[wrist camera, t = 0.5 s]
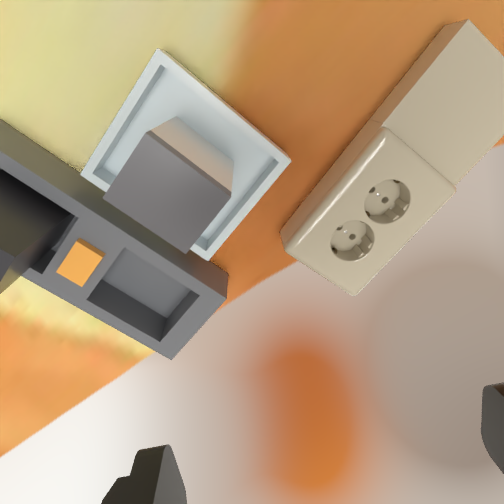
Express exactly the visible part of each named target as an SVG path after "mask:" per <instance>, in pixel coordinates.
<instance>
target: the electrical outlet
mask: <svg viewBox="0 0 504 504" xmlns="http://www.w3.org/2000/svg"><path fill="white" fill-rule="evenodd" d="M503 135H504V56H503V55H502V54H501V53H500V52H499V51H498V50H497V49H496V48H495V47H494V46H493V45H492V44H491V42H490V41H489V40H488V39H487V38H486V37H485V36H484V35H483V34H482V33H481V32H480V31H479V30H478V29H477V27H476V26H475V25H474V24H473V23H472V22H471V21H470V20H469V19H467V20H463V21H459V22H456V23H452V24H448V25H445V26H444V27H443V28H442V29H441V30H440V32H439V33H438V34H437V35H436V37H435V38H434V39H433V40H432V42H431V43H430V44H429V45H428V47H427V48H426V49H425V50H424V52H423V53H422V54H421V55H420V57H419V58H418V59H417V60H416V62H415V63H414V64H413V65H412V67H411V68H410V69H409V70H408V72H407V73H406V74H405V75H404V77H403V78H402V79H401V80H400V82H399V83H398V84H397V85H396V87H395V88H394V89H393V90H392V92H391V93H390V94H389V95H388V97H387V98H386V99H385V100H384V102H383V103H382V104H381V105H380V107H379V108H378V109H377V110H376V111H375V113H374V114H373V115H372V116H371V118H370V120H368V121H367V123H366V124H365V125H364V126H363V128H362V129H361V130H360V131H359V133H358V134H357V135H356V136H355V138H354V139H353V140H352V141H351V143H350V144H349V145H348V146H347V148H346V149H345V150H344V151H343V153H342V154H341V155H340V156H339V158H338V159H337V160H336V161H335V163H334V164H333V165H332V166H331V168H330V169H329V170H328V171H327V173H326V174H325V175H324V176H323V178H322V179H321V180H320V181H319V183H318V184H317V185H316V186H315V188H314V189H313V190H312V191H311V193H310V194H309V195H308V196H307V197H306V199H305V200H304V201H303V202H302V204H301V205H300V206H299V207H298V209H297V210H296V211H295V212H294V214H293V215H292V216H291V217H290V219H289V220H288V221H287V222H286V224H285V225H284V226H283V227H282V229H281V230H280V236H281V240H282V244H283V247H284V250H285V252H286V253H288V254H289V255H291V256H292V257H294V258H295V259H297V260H298V261H300V262H301V263H303V264H304V265H306V266H307V267H309V268H310V269H312V270H314V271H315V272H316V273H318V274H319V275H321V276H323V277H324V278H325V279H327V280H328V281H330V282H332V283H333V284H335V285H336V286H338V287H339V288H341V289H342V290H344V291H345V292H347V293H348V294H350V295H352V296H356V295H357V294H358V293H359V292H360V291H361V290H362V289H363V288H364V287H365V286H366V285H367V284H368V283H369V282H370V281H371V280H372V279H373V278H374V277H375V276H376V275H377V274H378V273H379V271H380V270H382V268H383V267H384V266H385V265H386V264H387V263H388V262H389V261H390V260H391V259H392V258H393V257H394V256H395V255H396V254H397V253H398V252H399V251H400V250H401V249H402V248H403V247H404V246H405V245H406V244H407V242H409V240H410V239H411V238H412V237H413V236H414V235H415V234H416V233H417V232H418V231H419V230H420V229H421V228H422V227H423V226H424V225H425V224H426V223H427V222H428V221H429V220H430V219H431V218H432V217H433V216H434V214H436V212H437V211H438V210H439V209H440V208H441V207H442V206H443V205H444V204H445V203H446V202H447V201H448V200H449V199H450V198H451V197H452V196H453V195H454V194H455V192H456V187H455V185H456V184H457V183H458V182H459V181H460V180H461V179H462V178H463V177H464V176H465V175H466V174H467V173H468V172H469V171H470V170H471V169H472V168H473V167H474V166H475V165H476V163H477V162H478V161H479V160H480V159H481V158H482V157H483V156H484V155H485V154H486V153H487V152H488V151H489V150H490V149H491V148H492V147H493V146H494V145H495V144H496V143H497V142H498V141H499V139H500V138H501V137H502V136H503Z"/></svg>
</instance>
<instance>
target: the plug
mask: <svg viewBox="0 0 504 504" xmlns="http://www.w3.org/2000/svg"><path fill="white" fill-rule="evenodd" d="M233 166H234V161H232V160H231V159H230V158H228V157H227V156H226V155H225V154H223V153H222V152H221V151H220V150H218V149H217V148H216V147H215V146H213V145H212V144H211V143H210V142H208V141H207V140H206V139H205V138H203V137H202V136H201V135H199V134H198V133H197V132H196V131H194V130H193V129H192V128H191V127H189V126H188V125H187V124H186V123H184V122H183V121H182V120H181V119H179V118H178V117H177V116H175V117H173V118H171V119H170V120H168V121H166V122H164V123H162V124H160V125H159V126H157V127H155V128H153V129H151V130H149V131H147V132H146V133H145V134H144V135H143V137H142V139H141V140H140V142H139V143H138V145H137V146H136V148H135V149H134V151H133V152H132V154H131V155H130V157H129V158H128V160H127V161H126V163H125V164H124V166H123V167H122V169H121V171H120V172H119V174H118V175H117V177H116V178H115V180H114V181H113V183H112V184H111V186H110V187H109V189H108V190H107V192H106V193H105V195H104V196H103V199H104V200H106V201H107V202H109V203H110V204H112V205H113V206H115V207H116V208H118V209H119V210H121V211H122V212H124V213H125V214H127V215H128V216H130V217H131V218H133V219H134V220H136V221H137V222H139V223H140V224H142V225H143V226H144V227H146V228H147V229H149V230H150V231H152V232H153V233H155V234H156V235H158V236H159V237H161V238H162V239H164V240H165V241H167V242H168V243H170V244H171V245H173V246H174V247H176V248H177V249H179V250H180V251H182V252H183V253H185V254H186V253H187V252H188V251H189V249H190V248H191V247H192V246H193V244H194V243H195V242H196V241H197V239H198V238H199V237H200V236H201V234H202V233H203V232H204V231H205V229H206V228H207V227H208V226H209V224H210V223H211V222H212V221H213V219H214V218H215V217H216V216H217V214H218V213H219V212H220V211H221V210H222V208H223V207H224V206H225V205H226V203H227V202H228V201H229V200H230V198H231V192H232V179H233Z"/></svg>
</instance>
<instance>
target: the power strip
mask: <svg viewBox="0 0 504 504" xmlns="http://www.w3.org/2000/svg"><path fill="white" fill-rule="evenodd" d="M80 174H81V173H79V172H78V171H76V170H75V169H73V168H72V167H70V166H69V165H67V164H66V163H64V162H63V161H62V160H60V159H59V158H57V157H56V156H54V155H53V154H51V153H50V152H48V151H47V150H45V149H44V148H42V147H41V146H39V145H38V144H36V143H35V142H34V141H32V140H31V139H29V138H28V137H26V136H25V135H23V134H22V133H20V132H19V131H17V130H16V129H14V128H13V127H11V126H10V125H8V124H7V123H6V122H4V121H3V120H1V119H0V294H1V293H2V292H3V291H4V290H5V289H6V288H8V287H9V286H10V285H11V284H12V283H13V282H14V281H15V280H17V279H18V278H19V277H20V276H23V277H24V278H26V279H28V280H30V281H31V282H33V283H35V284H37V285H39V286H40V287H42V288H44V289H46V290H47V291H49V292H51V293H53V294H55V295H56V296H58V297H60V298H62V299H64V300H65V301H67V302H69V303H71V304H72V305H74V306H76V307H78V308H80V309H81V310H83V311H85V312H87V313H88V314H90V315H92V316H94V317H96V318H97V319H99V320H101V321H103V322H104V323H106V324H108V325H110V326H112V327H113V328H115V329H117V330H119V331H120V332H122V333H124V334H126V335H128V336H129V337H131V338H133V339H135V340H136V341H138V342H140V343H142V344H144V345H145V346H147V347H149V348H151V349H153V350H154V351H156V352H158V353H160V354H162V355H163V356H165V357H167V358H169V359H170V360H172V359H173V358H174V357H175V356H176V355H177V353H178V352H179V351H180V350H181V349H182V348H183V347H184V346H185V345H186V343H187V342H188V341H189V340H190V339H191V338H192V337H193V336H194V334H195V333H196V332H197V331H198V330H199V329H200V328H201V327H202V326H203V325H204V323H205V322H206V321H207V320H208V319H209V318H210V317H211V316H212V315H213V313H214V312H215V311H216V310H217V309H218V308H219V307H220V306H221V304H222V303H223V302H224V301H225V300H226V299H227V285H228V273H227V272H225V271H224V270H222V269H221V268H219V267H218V266H216V265H215V264H213V263H212V262H210V261H207V260H205V259H204V258H202V257H201V256H199V255H198V254H196V253H195V252H193V251H192V250H190V249H189V251H188V252H187V253H186V254H185V253H183V252H182V251H180V250H179V249H177V248H176V247H174V246H173V245H171V244H170V243H168V242H167V241H165V240H164V239H162V238H161V237H159V236H158V235H156V234H155V233H153V232H152V231H150V230H149V229H147V228H146V227H144V226H143V225H142V224H140V223H139V222H137V221H136V220H134V219H133V218H131V217H130V216H128V215H127V214H125V213H124V212H122V211H121V210H119V209H118V208H116V207H115V206H113V205H112V204H110V203H109V202H107V201H106V200H104V199H103V196H104V195H105V193H106V192H105V191H103V190H102V189H100V188H99V187H97V186H96V185H94V184H93V183H91V182H90V181H88V180H87V179H85V178H84V177H83V176H81V175H80Z"/></svg>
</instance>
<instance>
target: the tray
mask: <svg viewBox="0 0 504 504" xmlns="http://www.w3.org/2000/svg"><path fill="white" fill-rule="evenodd" d="M175 116H177V117H178V118H179V119H181V120H182V121H183V122H184V123H186V124H187V125H188V126H189V127H191V128H192V129H193V130H194V131H196V132H197V133H198V134H199V135H201V136H202V137H203V138H205V139H206V140H207V141H208V142H210V143H211V144H212V145H213V146H215V147H216V148H217V149H218V150H220V151H221V152H222V153H223V154H225V155H226V156H227V157H228V158H230V159H231V160H232V161H234V166H233V179H232V192H231V198H230V200H229V201H228V202H227V203H226V205H225V206H224V207H223V208H222V210H221V211H220V212H219V213H218V214H217V216H216V217H215V218H214V219H213V221H212V222H211V223H210V224H209V226H208V227H207V228H206V229H205V231H204V232H203V233H202V234H201V236H200V237H199V238H198V239H197V241H196V242H195V243H194V244H193V246H192V247H191V248H190V250H192V251H193V252H195V253H196V254H198V255H199V256H201V257H202V258H204V259H205V260H207V261H209V259H210V258H211V257H212V256H213V255H214V253H215V252H216V251H217V250H218V249H219V247H220V246H221V245H222V244H223V243H224V241H225V240H226V239H227V238H228V237H229V235H230V234H231V233H232V232H233V231H234V229H235V228H236V227H237V226H238V225H239V223H240V222H241V221H242V220H243V219H244V217H245V216H246V215H247V214H248V213H249V211H250V210H251V209H252V208H253V207H254V206H255V204H256V203H257V202H258V201H259V200H260V198H261V197H262V196H263V195H264V194H265V192H266V191H267V190H268V189H269V188H270V186H271V185H272V184H273V183H274V182H275V180H276V179H277V178H278V177H279V176H280V174H281V173H282V172H283V171H284V170H285V168H286V167H287V166H288V165H289V164H290V162H291V159H290V158H289V156H288V154H287V153H286V152H284V151H283V150H282V149H281V148H280V147H279V146H277V145H276V144H275V143H274V142H273V141H271V140H270V139H269V138H268V137H267V136H266V135H264V134H263V133H262V132H261V131H260V130H258V129H257V128H256V127H255V126H254V125H253V124H251V123H250V122H249V121H248V120H247V119H245V118H244V117H243V116H242V115H241V114H240V113H238V112H237V111H236V110H235V109H234V108H232V107H231V106H230V105H229V104H228V103H227V102H225V101H224V100H223V99H222V98H221V97H219V96H218V95H217V94H216V93H215V92H214V91H212V90H211V89H210V88H209V87H208V86H206V85H205V84H204V83H203V82H202V81H201V80H199V79H198V78H197V77H196V76H195V75H193V74H192V73H191V72H190V71H189V70H188V69H186V68H185V67H184V66H183V65H182V64H180V63H179V62H178V61H177V60H176V59H175V58H173V57H172V56H171V55H170V54H169V53H167V52H166V51H164V50H161V49H159V48H157V50H156V52H155V53H154V55H153V56H152V58H151V60H150V61H149V63H148V65H147V66H146V68H145V69H144V71H143V73H142V74H141V76H140V78H139V79H138V81H137V82H136V84H135V86H134V87H133V89H132V91H131V92H130V94H129V95H128V97H127V99H126V100H125V102H124V104H123V105H122V107H121V109H120V110H119V112H118V113H117V115H116V117H115V118H114V120H113V122H112V123H111V125H110V126H109V128H108V130H107V131H106V133H105V135H104V136H103V138H102V139H101V141H100V143H99V144H98V146H97V148H96V149H95V151H94V152H93V154H92V156H91V157H90V159H89V161H88V162H87V164H86V166H85V167H84V169H83V170H82V172H81V174H80V175H81V176H83V177H84V178H85V179H87V180H88V181H90V182H91V183H93V184H94V185H96V186H97V187H99V188H100V189H102V190H103V191H105V192H107V190H108V189H109V187H110V186H111V184H112V183H113V181H114V180H115V178H116V177H117V175H118V174H119V172H120V171H121V169H122V167H123V166H124V164H125V163H126V161H127V160H128V158H129V157H130V155H131V154H132V152H133V151H134V149H135V148H136V146H137V145H138V143H139V142H140V140H141V139H142V137H143V135H144V134H145V133H146V132H147V131H149V130H151V129H153V128H155V127H157V126H159V125H160V124H162V123H164V122H166V121H168V120H170V119H171V118H173V117H175Z"/></svg>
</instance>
